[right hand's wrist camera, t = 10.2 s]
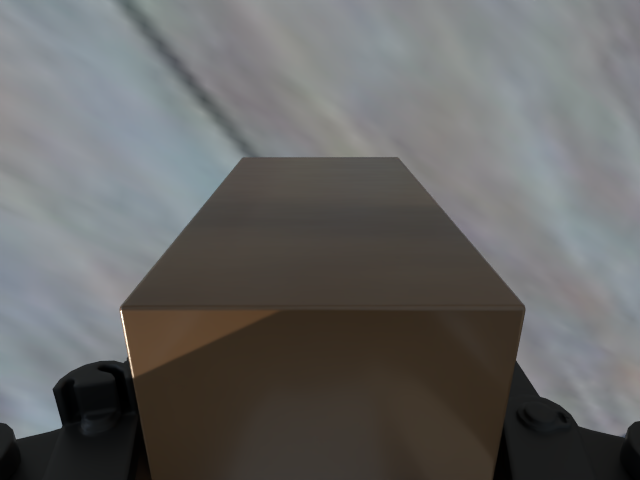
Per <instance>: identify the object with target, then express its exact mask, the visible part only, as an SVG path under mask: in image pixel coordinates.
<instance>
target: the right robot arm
mask: <svg viewBox="0 0 640 480" xmlns="http://www.w3.org/2000/svg"><path fill="white" fill-rule="evenodd" d="M53 392H54V396H55V400H56V403H57V407H58V411H59V414H60V418H61V422H62V425H63V426H62V428H61V429H57V430H54V431H51V432H47V433H42V434H38V435H34V436H30V437H25V438H21V439H17V440H16V438H15V435H14V432H13V429H11V428H10V427H9V426H8V425H7V424H4V423H0V480H152V478H151V473H150V468H149V463H148V457H147V452H146V447H145V442H144V436H143V431H142V426H141V420H140V415H139V410H138V405H137V399H136V394H135V389H134V384H133V378H132V373H131V368H130V363H129V357H128V358H127V361H125V362H124V363H121V362H117V361H99V362H95V363H90V364H86V365H84V366H82V367H79V368H77V369H75V370H73V371H71V372H69V373H68V374H67V375H65V376H64V377H63V378H61V379H60V380H59V381H58V383H57V384H56V385H55V387H54V388H53ZM493 480H640V421H638V422H634V423H633V424H632V425H631V426H630V427H629V428H628V430H627V433H626V436H625V438H623V437H619V436H614V435H610V434H606V433H601V432H597V431H593V430H589V429H586V428H582V427H579V426H578V425H577V423H576V422H575V420H574V419H573V417H572V416H571V414H570V413H568V412H567V411H566V410H565V409H564V408H562V407H561V406H560V405H558V404H556V403H554V402H552V401H550V400H548V399H546V398H542V397H540V396H539V395H538V393H537V392H536V390H535V389H534V387H533V386H532V384H531V383H530V381H529V380H528V378H527V377H526V375H525V373H524V372H523V370H522V369H521V367H520V366H519V364H518V363H517V361H516V362H515V367H514V372H513V377H512V383H511V388H510V393H509V398H508V403H507V409H506V414H505V419H504V424H503V429H502V435H501V440H500V445H499V450H498V455H497V461H496V466H495V471H494V476H493Z"/></svg>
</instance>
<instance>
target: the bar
mask: <svg viewBox="0 0 640 480" xmlns="http://www.w3.org/2000/svg"><path fill="white" fill-rule="evenodd" d="M120 315H121V321H122V326H123V331H124V336H125V342H126V347H127V352H128V357H129V363H130V368H131V373H132V378H133V384H134V389H135V394H136V399H137V405H138V410H139V415H140V420H141V426H142V431H143V436H144V442H145V447H146V452H147V457H148V463H149V468H150V473H151V478H152V480H493V476H494V471H495V466H496V461H497V455H498V450H499V445H500V440H501V435H502V429H503V424H504V419H505V414H506V409H507V403H508V398H509V393H510V388H511V383H512V377H513V372H514V367H515V362H516V357H517V351H518V346H519V341H520V336H521V330H522V325H523V320H524V315H525V305H524V304H523V303H522V302H521V301H520V300H519V298H518V297H517V296H516V295H515V294H514V293H513V291H512V290H511V289H510V288H509V287H508V286H507V284H506V283H505V282H504V281H503V280H502V278H501V277H500V276H499V275H498V274H497V273H496V271H495V270H494V269H493V268H492V267H491V266H490V264H489V263H488V262H487V261H486V260H485V259H484V257H483V256H482V255H481V254H480V253H479V252H478V250H477V249H476V248H475V247H474V246H473V245H472V243H471V242H470V241H469V240H468V239H467V238H466V236H465V235H464V234H463V233H462V232H461V230H460V229H459V228H458V227H457V226H456V225H455V223H454V222H453V221H452V220H451V219H450V218H449V216H448V215H447V214H446V213H445V212H444V211H443V209H442V208H441V207H440V206H439V205H438V204H437V202H436V201H435V200H434V199H433V198H432V197H431V195H430V194H429V193H428V192H427V191H426V189H425V188H424V187H423V186H422V185H421V184H420V182H419V181H418V180H417V179H416V178H415V177H414V175H413V174H412V173H411V172H410V171H409V170H408V168H407V167H406V166H405V165H404V164H403V163H402V161H401V160H400V159H399V158H398V157H260V158H242V159H241V160H240V161H239V163H238V164H237V165H236V166H235V167H234V169H233V170H232V171H231V172H230V174H229V175H228V176H227V177H226V178H225V180H224V181H223V182H222V183H221V185H220V186H219V187H218V188H217V189H216V191H215V192H214V193H213V194H212V195H211V197H210V198H209V199H208V200H207V202H206V203H205V204H204V205H203V206H202V208H201V209H200V210H199V211H198V213H197V214H196V215H195V216H194V217H193V219H192V220H191V221H190V222H189V224H188V225H187V226H186V227H185V228H184V230H183V231H182V232H181V233H180V234H179V236H178V237H177V238H176V239H175V241H174V242H173V243H172V244H171V245H170V247H169V248H168V249H167V250H166V252H165V253H164V254H163V255H162V256H161V258H160V259H159V260H158V261H157V262H156V264H155V265H154V266H153V267H152V269H151V270H150V271H149V272H148V273H147V275H146V276H145V277H144V278H143V280H142V281H141V282H140V283H139V284H138V286H137V287H136V288H135V289H134V291H133V292H132V293H131V294H130V295H129V297H128V298H127V299H126V300H125V301H124V303H123V304H122V305H121V307H120Z"/></svg>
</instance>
